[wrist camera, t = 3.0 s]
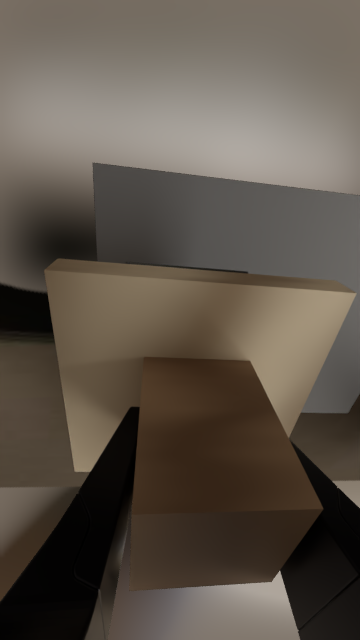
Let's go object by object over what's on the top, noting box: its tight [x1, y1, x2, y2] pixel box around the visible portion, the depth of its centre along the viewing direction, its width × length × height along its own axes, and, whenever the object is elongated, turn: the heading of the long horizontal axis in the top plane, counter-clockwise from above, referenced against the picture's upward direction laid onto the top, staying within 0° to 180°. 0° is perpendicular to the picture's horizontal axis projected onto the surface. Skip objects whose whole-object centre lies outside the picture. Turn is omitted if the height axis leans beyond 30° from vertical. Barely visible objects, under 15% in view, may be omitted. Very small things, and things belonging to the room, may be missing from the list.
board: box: [93, 163, 360, 413], centre depth 18 cm, size 20×16×2 cm
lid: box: [44, 259, 357, 591], centre depth 9 cm, size 10×10×6 cm
